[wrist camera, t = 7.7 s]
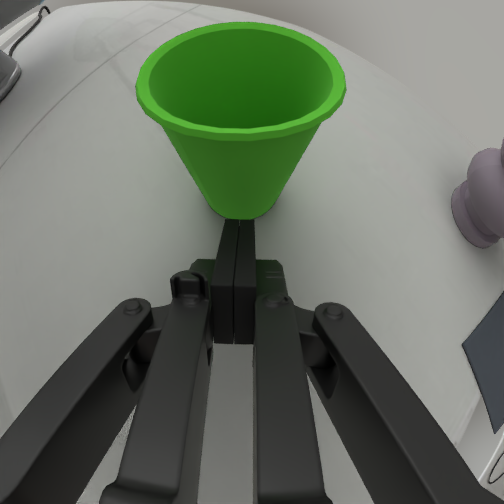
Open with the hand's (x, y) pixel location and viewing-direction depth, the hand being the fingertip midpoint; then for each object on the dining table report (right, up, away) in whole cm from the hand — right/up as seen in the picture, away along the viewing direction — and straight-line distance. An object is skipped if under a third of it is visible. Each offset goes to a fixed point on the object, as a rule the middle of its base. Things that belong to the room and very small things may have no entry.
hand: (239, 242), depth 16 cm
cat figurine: (+22, +3, +5) cm, 22 cm away
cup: (0, +4, +5) cm, 6 cm away
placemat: (+25, -10, +1) cm, 26 cm away
